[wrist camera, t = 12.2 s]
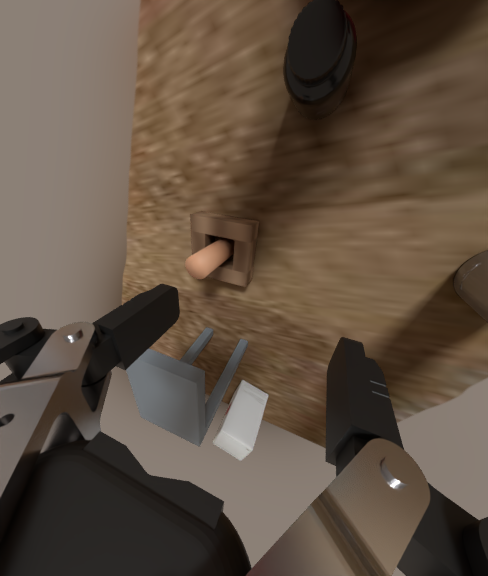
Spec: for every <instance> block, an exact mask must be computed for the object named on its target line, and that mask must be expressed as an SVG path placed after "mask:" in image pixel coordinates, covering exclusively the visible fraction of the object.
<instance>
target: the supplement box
mask: <svg viewBox="0 0 488 576" xmlns="http://www.w3.org/2000/svg"><path fill="white" fill-rule="evenodd" d="M267 399H268V394H266V393H265V392H263V391H261V390H259V389H258V388H256V387H254V386H253V385H251V384H249V383H247V382H246V381H244V380H242V381H241V383H240V384H239V386H238V387H237V389H236V391H235V392H234V394H233V397H232V399H231V401H230V403H229V406H228V408H227V410H226V413H225V415H224V417H223V419H222V422H221V424H220V426H219V429H218V431H217V433H216V436H215V438H214V440H213V444H215V445H216V446H218V447H219V448H221V449H223V450H224V451H226V452H228V453H229V454H230V455H232V456H233V457H235V458H237V459H238V460H240V461H241V460H243V459H244V458H245V457H247V455H248V454H249V453H250V452H251V451H252V450H253V448H254V444H255V440H256V437H257V433H258V430H259V427H260V423H261V420H262V416H263V413H264V409H265V406H266V402H267Z"/></svg>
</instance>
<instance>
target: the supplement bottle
mask: <svg viewBox="0 0 488 576" xmlns="http://www.w3.org/2000/svg"><path fill="white" fill-rule="evenodd" d="M356 47H357V36H356V30H355V26H354V23H353V21H352V19H351V17H350V16H349V15H348V13H347V12H346V11H344V10H343V6H342V5H340V3H339V1H337V0H313V1H312V2H309V3H308V5H307V6H306V7H304V8H303V10H302V12H301V13H299V14H298V17H297V19H296V20H295V21H294V25H293V27H292V29H291V34H290V36H289V43H288V46H287V49H286V53H285V57H284V66H283V74H284V81H285V85H286V88H287V91H288V93H289V95H290V97H291V99H292V100H293V102H294V104H295V106H296V108H297V110H298V111H299V112H300V114H301V115H303V116H304V117H305V118H308V119H311V120H318V119H322V118H324V117H326V116H328V115H330V114H331V113H332V112H333V111H334V110H335V109H336V108H337V107H338V106H339V105H340V103H341V102H342V100H343V98H344V96H345V94H346V92H347V89H348V86H349V82H350V78H351V73H352V69H353V65H354V60H355V55H356Z"/></svg>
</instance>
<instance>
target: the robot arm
mask: <svg viewBox="0 0 488 576" xmlns="http://www.w3.org/2000/svg"><path fill="white" fill-rule="evenodd" d="M454 288H455V291H456V293H457V294H458V295H459V296H460V297H461V298H462V299H463V300H464V301H465V302H466V303H467V304H468V305H469V306H471V307H472V308H473V309H474V310H475V311H476V312H477V313H478V314H479V315H480V316H481V317H482V318H483V319H484V320H486V321H487V322H488V250H487V251H485V252H482V253H480V254H478V255H476V256H474V257H473V258H471V259H469V260H468V261H467V262H466V263H464V264H463V265H462V266H461V268H460V269H459V270H458V272H457V273H456V275H455V278H454ZM179 314H180V310H179V299H178V290H177V288H175V287H172V286H169V285H165V284H160V285H158V286H156V287H155V288H153V289H152V290H149V291H146V292H144V293H141V294H139V295H137V296H135V297H134V298H132V299H131V300H130V301H127V302H126V303H124V304H123V305H121V306H119V307H118V308H116V309H114V310H113V311H111V312H110V313H108V314H106V315H105V316H103V317H102V318H100V319H99V320H97V321H95V322H94V323H92V324H91V323H89V322H77V323H72V324H68V325H66V326H64V327H62V328H60V329H58V330H52V329H42V327H41V325H40V323H39V321H38V320H37V319H35V318H31V317H25V318H18V319H14V320H11V321H8V322H5V323H3V324H1V325H0V364H1V363H3V362H5V363H6V365H7V366H8V367H9V369H10V370H11V371H12V374H11V375H9V376H7V377H6V378H4V379H3V380H1V381H0V576H392V574H393V572H394V570H395V568H396V567H397V568H398V569H399V570H400V571H402V572H403V573H404V574H405V575H406V576H488V517H486V518H484V519H481V520H478V519H476V518H475V517H473V516H472V515H471V514H469V513H468V512H466V511H465V510H464V509H462V508H461V507H459V506H458V505H457V504H455V503H454V502H453V501H451V500H450V499H448V498H447V497H445V496H444V495H443V494H441V493H440V492H439V491H437V490H436V489H435V488H434V487H433V486H431V485H430V484H429V483H428V482H427V480H426V478H425V476H424V474H423V472H422V470H421V469H420V467H419V466H418V464H417V463H416V462H415V461H414V460H413V458H412V457H411V456H410V455H409V454H407V452H406V451H405V450H404V448H403V445H402V441H401V437H400V434H399V430H398V426H397V423H396V419H395V415H394V411H393V408H392V404H391V400H390V399H389V393H388V389H387V388H386V382H385V378H384V374H383V372H382V370H381V369H380V367H379V366H378V365H377V363H376V362H375V360H373V359H370V358H367V357H365V352H364V347H363V344H362V343H361V342H358V341H355V340H351V339H348V338H345V337H341V338H340V340H339V342H338V345H337V347H336V349H335V351H334V353H333V356H332V358H331V360H330V363H329V366H328V370H327V401H326V462H328V463H331V464H333V465H335V466H336V478H335V479H334V480H333V481H332V482H331V484H330V485H329V486H328V487H327V488H326V489H325V490H324V491H323V492H322V493H321V494H320V495H319V496H318V497H317V498H316V499H315V500H314V501H313V502H312V503H311V504H310V506H309V507H308V508H307V509H306V510H305V511H304V512H303V513H302V514H301V515H300V516H299V518H298V519H297V520H296V521H295V522H294V523H293V524H292V525H291V527H289V529H288V530H287V531H286V532H285V533H284V534H283V535H282V536H281V537H280V538H279V540H278V541H277V542H276V543H275V544H274V545H273V546H272V547H271V548H270V549H269V550H268V552H267V553H266V554H265V555H264V556H263V557H262V558H261V559H260V560H259V561H258V562H257V564H256V565H255V566H254V567H253V568H251V565H250V561H249V558H248V555H247V553H246V550H245V547H244V545H243V542H242V541H241V539H240V536H239V535H238V533H237V531H236V529H235V528H234V526H233V525H232V523H231V522H230V520H229V519H228V518H227V517H226V516H225V514H224V513H223V505H224V501H222V500H220V499H219V498H217V497H215V496H213V495H212V494H210V493H208V492H206V491H205V490H203V489H201V488H199V487H198V486H196V485H194V484H192V483H190V482H189V481H182V480H176V479H170V478H163V477H157V476H151V475H149V474H147V472H146V471H145V470H144V469H143V467H142V466H141V465H140V463H139V462H138V461H137V460H136V458H135V457H134V456H133V454H132V453H131V452H130V451H129V449H128V448H127V446H125V445H124V444H122V443H120V442H118V441H116V440H115V439H113V438H111V437H109V436H108V435H106V434H104V433H102V432H101V429H100V417H101V412H102V409H103V405H104V401H105V397H106V394H107V390H108V387H109V383H110V379H111V375H112V372H111V370H112V369H113V368H114V367H115V366H117V367H119V368H121V369H123V370H126V369H127V368H128V367H130V366H131V365H132V364H133V363H134V362H135V361H136V360H137V359H138V358H139V357H140V356H141V355H142V354H143V353H144V352H145V351H146V350H147V349H148V348H149V347H150V346H152V345H153V344H154V343H155V342H156V341H157V340H158V339H159V338H160V337H161V336H162V335H163V334H164V333H165V332H166V331H167V330H168V329H169V328H170V327H171V326H172V325H173V324H175V322H176V321H177V320H178V317H179Z"/></svg>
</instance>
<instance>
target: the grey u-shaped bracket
mask: <svg viewBox="0 0 488 576" xmlns="http://www.w3.org/2000/svg"><path fill="white" fill-rule="evenodd" d="M212 336H213V329H210V328H207V327H206V329H205V330H204V331H203V332H202V334H201V335H200V336H199V337H198V338H197V340H196V341H195V342H194V343H193V345H192V346H191V347H190V348H189V350H188V351H187V352H186V353H185V355H184V356H183V357H182V358H181V360H180V361H179V360H177V359H174V358H171V357H169V356H166V355H164V354H161V353H159V352H156V351H154V350H151V349H149V348H148V349H147V350H146V351H145V352H144V353H143V354H142V355H141V356H140V357H139V358H138V359H137V360H136V361H135V362H134V363H133V364H132V365H131V366H130V367H128V368H127V369H126V371H127V374H128V377H129V381H130V384H131V387H132V390H133V393H134V397H135V400H136V403H137V406H138V409H139V412H140V415H141V417H142V418H144V419H146V420H148V421H149V422H152V423H153V424H155V425H158V426H159V427H162V428H163V429H165V430H167V431H169V432H171V433H173V434H175V435H177V436H179V437H181V438H183V439H185V440H187V441H189V442H191V443H193V444H195V445H197V446H200V445H201V443H202V441H203V439H204V436H205V434H206V432H207V430H208V428H209V426H210V424H211V422H212V420H213V417H214V415H215V413H216V411H217V409H218V407H219V405H220V403H221V401H222V399H223V396H224V394H225V392H226V390H227V388H228V386H229V384H230V382H231V380H232V378H233V375H234V373H235V371H236V369H237V367H238V365H239V363H240V361H241V359H242V357H243V354H244V352H245V350H246V348H247V345H248V341H246V340H243V339H240V341H239V343H238V345H237V347H236V348H235V350H234V352H233V354H232V356H231V358H230V360H229V361H228V363H227V365H226V367H225V369H224V371H223V373H222V374H221V376H220V378H219V380H218V382H217V384H216V386H215V387H214V389H213V391H212V393H211V395H210V397H209V399H208V400H207V402H206V404H205V371H204V370H202V369H199V368H197V367H194V366H192V363H193V362H194V360H195V359H196V358H197V356H198V355H199V354H200V352H201V351H202V349H203V348H204V347H205V345H206V344H207V343H208V341H209V340H210V338H211V337H212Z"/></svg>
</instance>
